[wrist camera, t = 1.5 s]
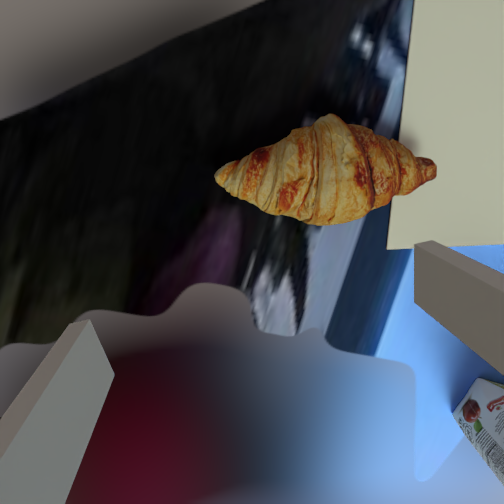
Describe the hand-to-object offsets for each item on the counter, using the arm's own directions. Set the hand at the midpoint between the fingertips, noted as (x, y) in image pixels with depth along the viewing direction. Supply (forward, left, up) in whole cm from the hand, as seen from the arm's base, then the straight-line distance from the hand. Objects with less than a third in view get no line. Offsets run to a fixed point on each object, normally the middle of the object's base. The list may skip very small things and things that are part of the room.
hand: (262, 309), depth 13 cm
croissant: (-7, -3, -22) cm, 24 cm away
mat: (-23, -6, -22) cm, 33 cm away
